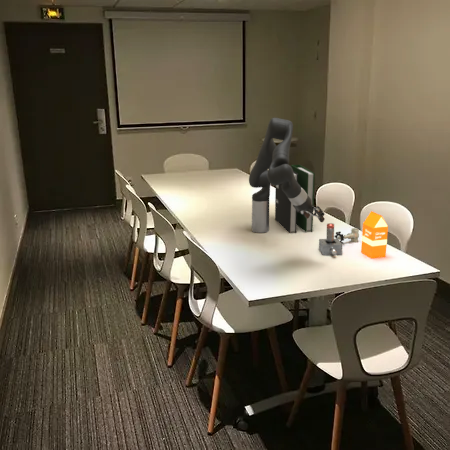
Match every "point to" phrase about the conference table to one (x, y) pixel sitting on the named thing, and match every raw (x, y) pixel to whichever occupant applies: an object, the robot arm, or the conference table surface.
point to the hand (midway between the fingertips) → (315, 218)
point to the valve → (348, 235)
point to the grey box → (330, 247)
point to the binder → (284, 207)
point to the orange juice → (374, 236)
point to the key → (330, 233)
